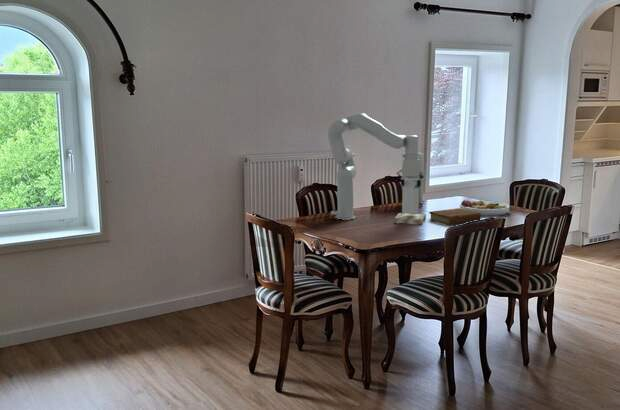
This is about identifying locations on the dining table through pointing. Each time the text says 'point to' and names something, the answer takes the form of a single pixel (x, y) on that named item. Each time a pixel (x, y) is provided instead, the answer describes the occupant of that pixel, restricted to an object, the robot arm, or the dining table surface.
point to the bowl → (485, 207)
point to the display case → (421, 160)
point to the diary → (454, 216)
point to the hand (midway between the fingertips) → (410, 186)
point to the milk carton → (410, 197)
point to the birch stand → (410, 218)
